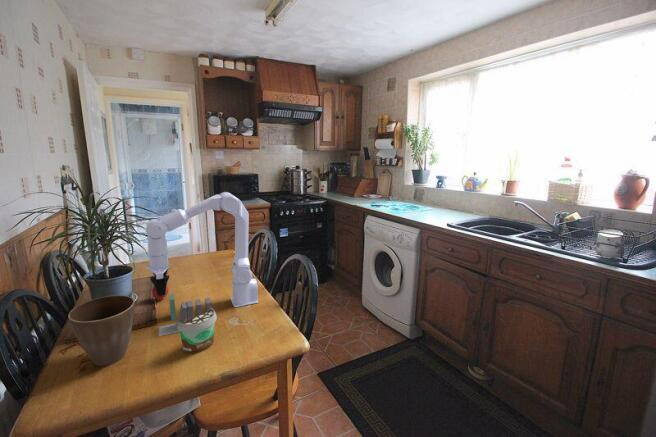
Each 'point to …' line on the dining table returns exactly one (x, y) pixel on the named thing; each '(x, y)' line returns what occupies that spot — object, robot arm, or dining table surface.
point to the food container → (198, 332)
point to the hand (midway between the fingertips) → (161, 290)
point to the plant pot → (104, 327)
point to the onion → (157, 294)
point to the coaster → (168, 329)
